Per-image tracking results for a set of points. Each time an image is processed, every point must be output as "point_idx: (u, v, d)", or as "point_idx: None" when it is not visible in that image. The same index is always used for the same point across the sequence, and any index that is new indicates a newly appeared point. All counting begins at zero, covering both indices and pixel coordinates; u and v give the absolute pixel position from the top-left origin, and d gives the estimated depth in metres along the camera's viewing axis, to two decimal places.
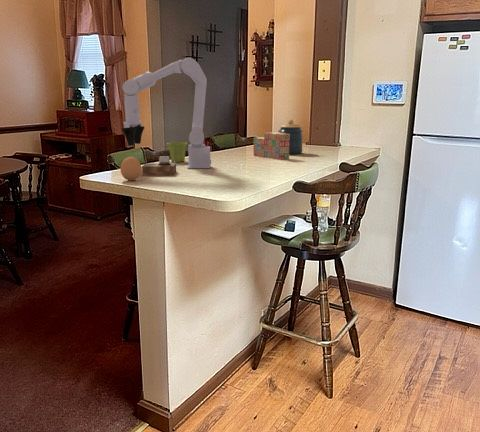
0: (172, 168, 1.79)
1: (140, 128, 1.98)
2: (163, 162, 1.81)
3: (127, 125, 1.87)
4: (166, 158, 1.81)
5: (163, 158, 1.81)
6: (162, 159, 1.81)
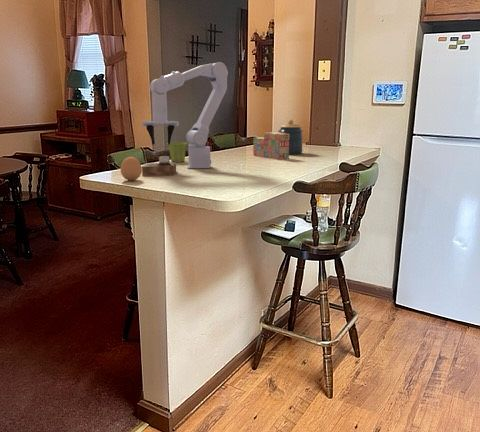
0: (172, 168, 1.79)
1: (167, 128, 1.89)
2: (163, 162, 1.81)
3: (142, 124, 1.89)
4: (166, 158, 1.81)
5: (163, 158, 1.81)
6: (162, 159, 1.81)
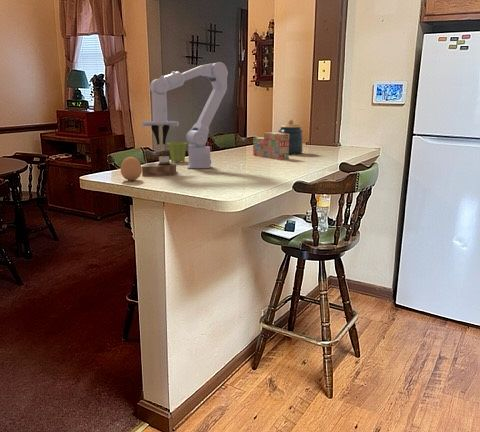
0: (172, 168, 1.79)
1: None
2: (163, 162, 1.81)
3: (142, 124, 1.89)
4: (166, 158, 1.81)
5: (163, 158, 1.81)
6: (162, 159, 1.81)
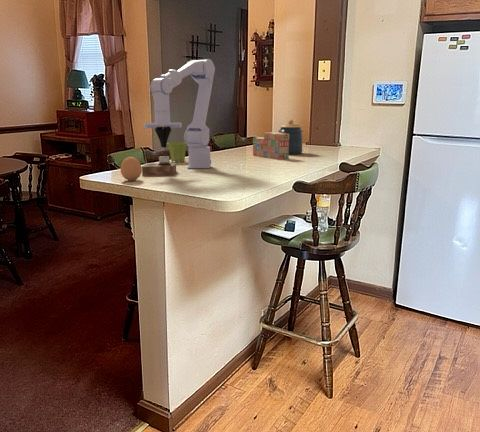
0: (172, 168, 1.79)
1: (164, 130, 1.79)
2: (163, 162, 1.81)
3: (144, 126, 1.77)
4: (166, 158, 1.81)
5: (163, 158, 1.81)
6: (162, 159, 1.81)
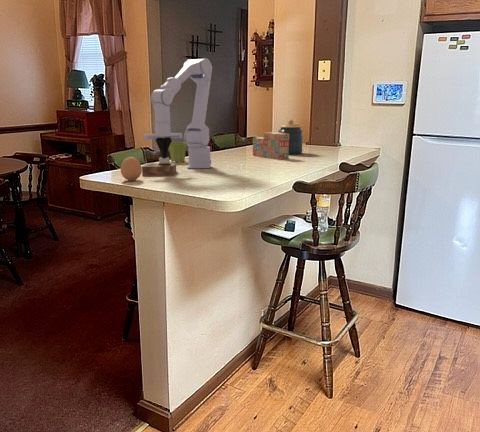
0: (172, 168, 1.79)
1: (165, 141, 1.80)
2: (163, 164, 1.82)
3: (144, 137, 1.78)
4: (166, 159, 1.81)
5: (163, 159, 1.81)
6: (162, 160, 1.81)
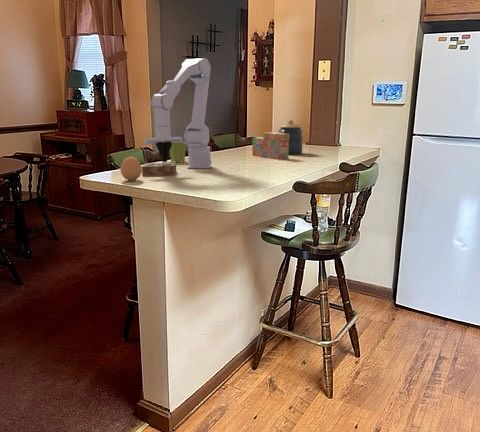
0: (172, 168, 1.79)
1: (165, 145, 1.80)
2: None
3: (145, 141, 1.78)
4: None
5: None
6: None
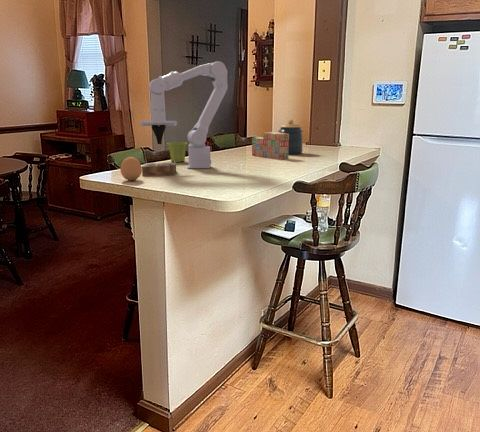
0: (172, 168, 1.79)
1: (158, 128, 1.90)
2: None
3: None
4: None
5: None
6: None
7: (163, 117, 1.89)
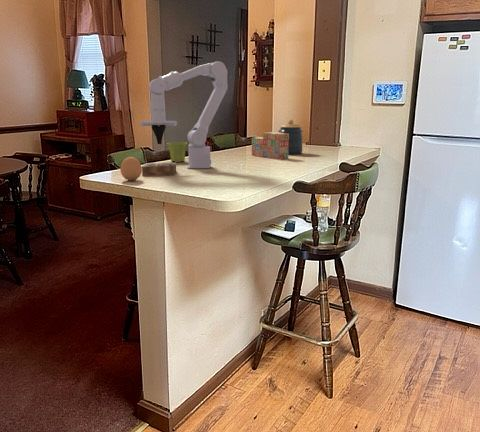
0: (172, 168, 1.79)
1: (158, 128, 1.90)
2: None
3: None
4: None
5: None
6: None
7: (163, 117, 1.89)
